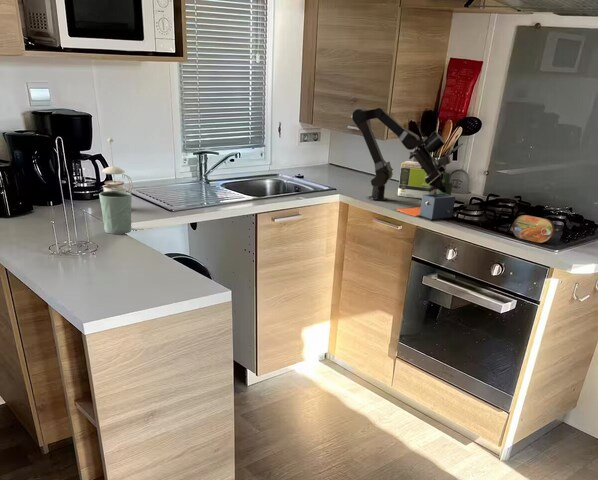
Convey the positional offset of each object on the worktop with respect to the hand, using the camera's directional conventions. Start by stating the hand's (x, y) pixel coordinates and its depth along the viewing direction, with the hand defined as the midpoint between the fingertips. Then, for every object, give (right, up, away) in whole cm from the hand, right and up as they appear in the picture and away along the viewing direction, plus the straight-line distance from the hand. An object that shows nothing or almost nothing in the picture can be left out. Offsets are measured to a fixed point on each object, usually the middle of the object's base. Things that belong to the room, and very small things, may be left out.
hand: (447, 190), depth 259 cm
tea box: (-9, +5, +22) cm, 25 cm away
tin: (+21, -32, -40) cm, 55 cm away
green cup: (-124, -34, -58) cm, 141 cm away
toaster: (-8, -16, -15) cm, 24 cm away
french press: (-133, -18, -30) cm, 137 cm away
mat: (-14, -12, -7) cm, 20 cm away
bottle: (-2, -6, +4) cm, 7 cm away
